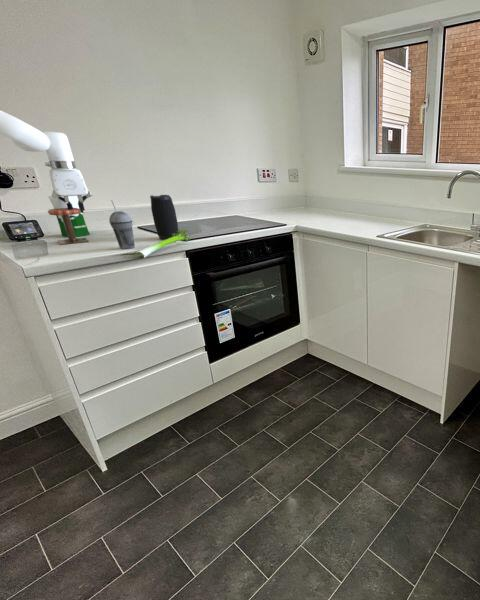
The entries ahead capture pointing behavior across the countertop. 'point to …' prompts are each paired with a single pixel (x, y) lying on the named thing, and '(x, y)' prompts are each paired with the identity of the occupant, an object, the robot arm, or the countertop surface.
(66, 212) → the ring
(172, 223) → the portable speaker
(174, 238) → the leek
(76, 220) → the milk carton
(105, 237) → the countertop surface
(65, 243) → the peg stand
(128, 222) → the beverage cup
